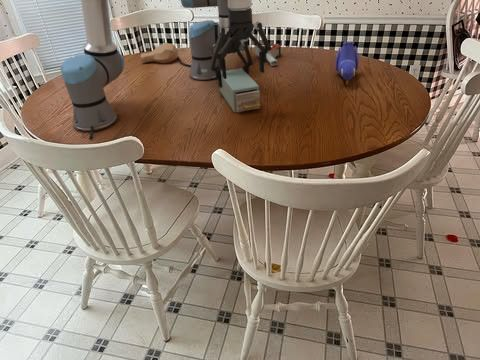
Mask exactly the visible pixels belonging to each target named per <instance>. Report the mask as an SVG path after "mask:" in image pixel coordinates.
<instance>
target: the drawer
mask: <svg viewBox="0 0 480 360" xmlns="http://www.w3.org/2000/svg"><path fill="white" fill-rule="evenodd" d="M236 105H237V112H236V113H242V112H246V111H252V110H258V109H261V108H262V104H261V91H260V89H259V90H258V91H255V90H248V91H242V92H236Z"/></svg>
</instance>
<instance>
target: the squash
mask: <svg viewBox="0 0 480 360" xmlns="http://www.w3.org/2000/svg"><path fill="white" fill-rule="evenodd" d="M155 47H156V48H154V49H153V50H151V51H150V52H144V53H141V54H140V61H141V62H142V64H146V63H149V62H157V63H160V64H170V63H172V62H173V61H175V60H176V59H177V58H178V57H179V56H178V55H179V51H178V49H177V47H176V45H175V44H173V43H168V42H164V43H162V44H160V45H158V46H155Z"/></svg>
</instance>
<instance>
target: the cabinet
mask: <svg viewBox="0 0 480 360" xmlns="http://www.w3.org/2000/svg"><path fill="white" fill-rule="evenodd" d="M226 77H227V79H224V78H223V75H222V71H221V79H222V88H220V87H219V92H220V94H221V95H222V97H223V98H224V99H225V101H226V103H227V104H228V105H229V107H230V108H231V109H232V111H233V112H234V113H238V112H237V105H236V92H242V91H248V90H255V91H258V90H259V91H260V85H258V83H256V81H255V80H254V79H253V78H252V77H251V76H250V75H248V74H247V73H246V72H245V71H244V70H243V67H239V68H233V69H229V70H227V69H226Z"/></svg>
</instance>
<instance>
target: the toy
mask: <svg viewBox="0 0 480 360" xmlns="http://www.w3.org/2000/svg"><path fill="white" fill-rule="evenodd" d="M354 44H355V42H354V41H352V40H350V41H349V42H347V41H343V43H342V47H341V46H339V47H338V50H337V52H336V55H335V60H334V69H335V71H336V72H337V73H338V74H339V75H340V76H341V78H342V79H343V80H345V85H346V86H348V85H349V81H350V80H352V79H353V77H355V75H356V72H357V71H358V69H359V65H360V59H359V58H360V57H359V52H358V48H357V46H356V45H354Z"/></svg>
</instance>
